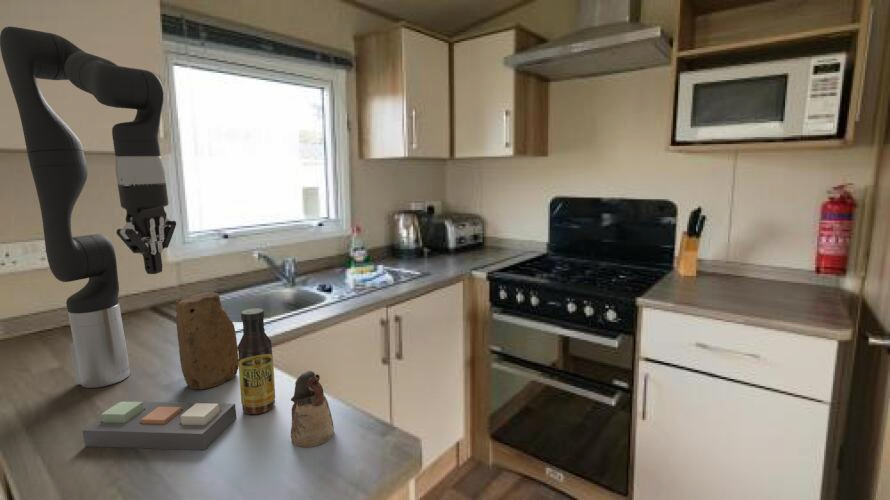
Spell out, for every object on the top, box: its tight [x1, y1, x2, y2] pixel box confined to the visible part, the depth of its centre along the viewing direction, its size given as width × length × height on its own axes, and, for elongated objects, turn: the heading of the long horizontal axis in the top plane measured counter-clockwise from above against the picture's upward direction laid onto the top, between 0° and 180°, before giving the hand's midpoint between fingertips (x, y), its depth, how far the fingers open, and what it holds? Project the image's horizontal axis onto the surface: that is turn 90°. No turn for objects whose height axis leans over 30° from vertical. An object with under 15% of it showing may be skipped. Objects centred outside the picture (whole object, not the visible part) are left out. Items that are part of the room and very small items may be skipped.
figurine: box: [290, 370, 335, 448], centre depth 81 cm, size 7×7×12 cm
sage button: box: [100, 401, 144, 423], centre depth 85 cm, size 4×4×2 cm
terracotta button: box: [141, 407, 182, 424], centre depth 84 cm, size 4×4×2 cm
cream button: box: [180, 402, 220, 425], centre depth 83 cm, size 4×4×2 cm
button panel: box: [82, 400, 237, 451], centre depth 84 cm, size 22×10×3 cm, turn 84°
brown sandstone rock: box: [174, 291, 239, 390], centre depth 103 cm, size 11×8×20 cm
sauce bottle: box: [237, 307, 276, 415], centre depth 90 cm, size 6×6×20 cm
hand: (154, 273), depth 89 cm, fingers closed
